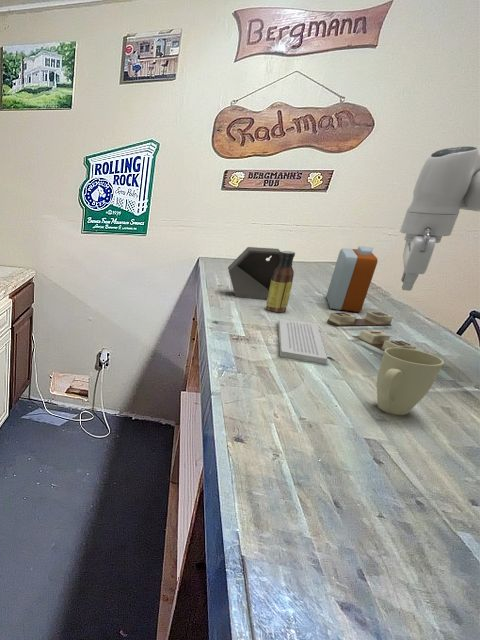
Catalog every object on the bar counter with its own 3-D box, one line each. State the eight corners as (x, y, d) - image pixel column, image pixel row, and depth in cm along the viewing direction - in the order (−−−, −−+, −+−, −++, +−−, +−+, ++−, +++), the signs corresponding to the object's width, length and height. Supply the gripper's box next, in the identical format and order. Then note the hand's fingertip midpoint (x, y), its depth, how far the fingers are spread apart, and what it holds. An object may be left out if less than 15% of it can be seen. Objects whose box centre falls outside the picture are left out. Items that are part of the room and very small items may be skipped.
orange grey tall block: (360, 313, 153) (381, 252, 145) (329, 309, 157) (348, 249, 149) (353, 300, 168) (372, 243, 160) (325, 297, 172) (342, 241, 164)
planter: (217, 282, 173) (262, 237, 162) (217, 278, 179) (259, 234, 168) (253, 310, 171) (301, 267, 160) (251, 305, 178) (297, 263, 167)
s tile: (398, 348, 122) (401, 339, 121) (413, 355, 118) (416, 345, 117) (381, 348, 122) (384, 339, 121) (396, 355, 118) (399, 346, 117)
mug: (354, 394, 100) (373, 344, 95) (410, 403, 96) (432, 351, 92) (369, 418, 91) (390, 363, 86) (432, 429, 87) (458, 372, 82)
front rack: (370, 338, 132) (374, 327, 130) (420, 361, 117) (425, 348, 116) (350, 339, 131) (354, 327, 130) (397, 361, 117) (402, 348, 115)
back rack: (375, 321, 146) (379, 310, 145) (391, 327, 141) (395, 316, 139) (325, 322, 145) (329, 311, 144) (339, 328, 140) (343, 317, 138)
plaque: (279, 318, 143) (317, 323, 139) (278, 323, 144) (315, 328, 140) (281, 351, 119) (327, 358, 115) (280, 356, 119) (325, 364, 115)
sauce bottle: (281, 308, 159) (296, 250, 151) (288, 313, 153) (304, 253, 145) (261, 307, 160) (275, 249, 152) (267, 312, 154) (282, 253, 146)
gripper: (449, 232, 94) (425, 297, 100) (442, 222, 109) (421, 279, 114) (410, 229, 98) (388, 292, 103) (408, 220, 112) (389, 276, 118)
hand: (405, 285), depth 109 cm, fingers open, 8 cm apart
